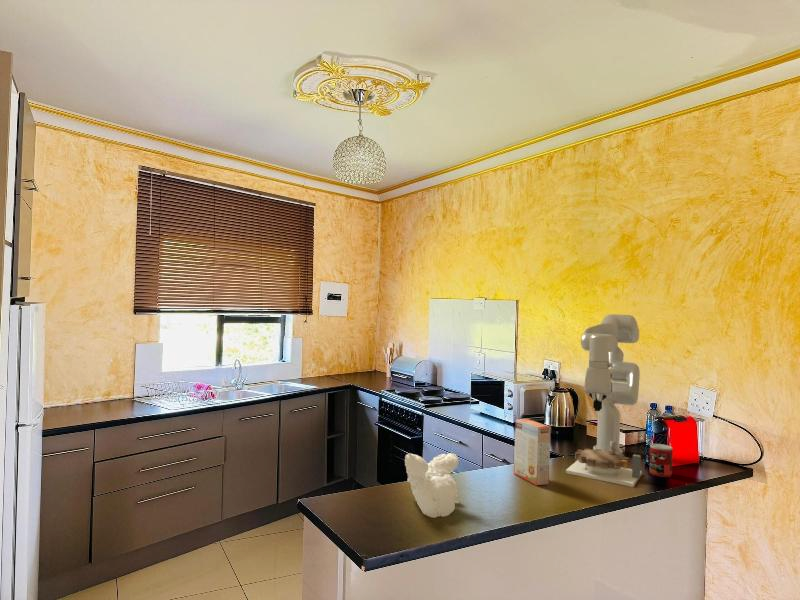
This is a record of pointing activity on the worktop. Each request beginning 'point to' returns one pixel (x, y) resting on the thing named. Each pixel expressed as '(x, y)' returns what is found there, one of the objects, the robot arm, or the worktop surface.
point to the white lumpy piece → (433, 483)
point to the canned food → (661, 460)
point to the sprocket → (602, 458)
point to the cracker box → (532, 451)
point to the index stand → (609, 472)
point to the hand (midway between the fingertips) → (597, 410)
